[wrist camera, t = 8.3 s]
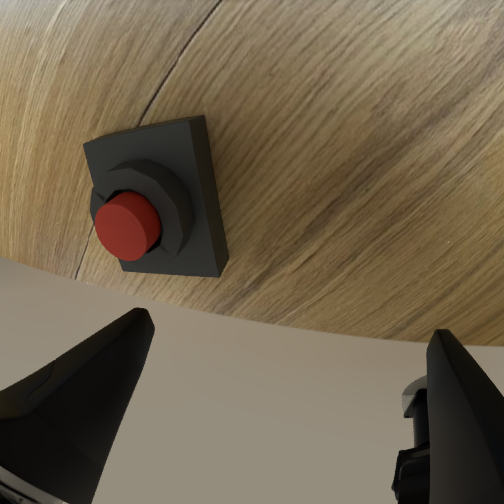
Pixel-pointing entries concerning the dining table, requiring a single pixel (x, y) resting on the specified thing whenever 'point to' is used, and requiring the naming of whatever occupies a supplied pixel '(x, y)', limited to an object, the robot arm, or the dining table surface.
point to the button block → (165, 192)
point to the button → (128, 225)
